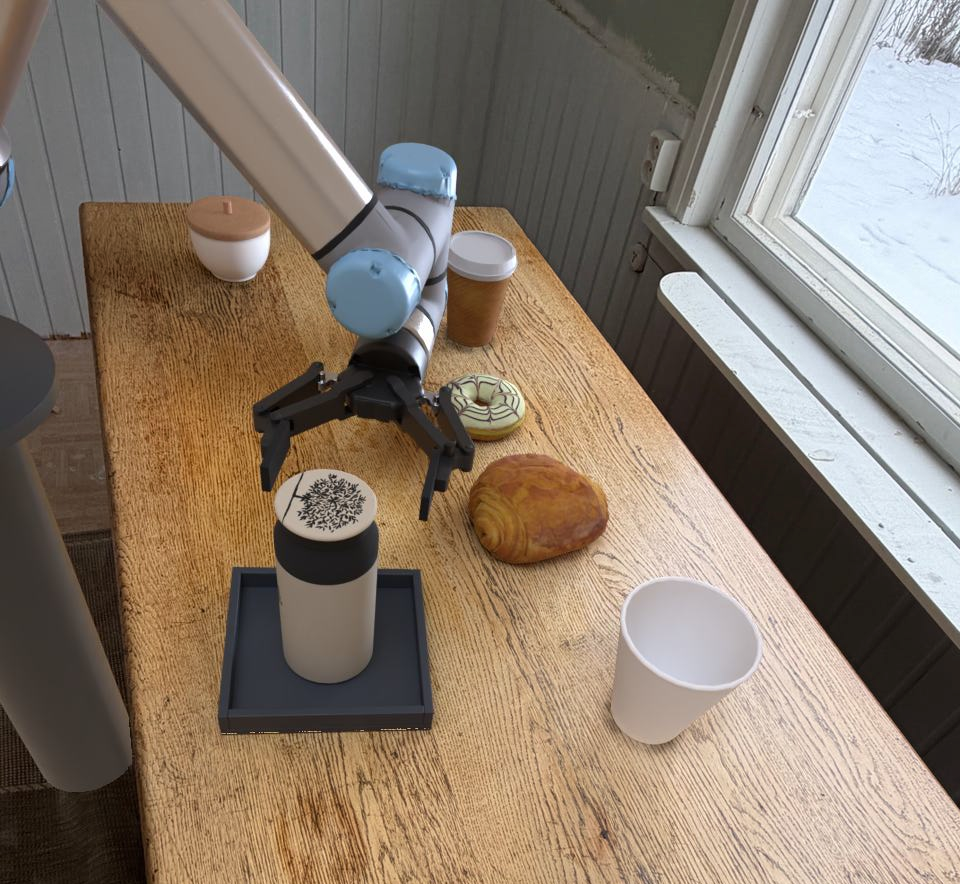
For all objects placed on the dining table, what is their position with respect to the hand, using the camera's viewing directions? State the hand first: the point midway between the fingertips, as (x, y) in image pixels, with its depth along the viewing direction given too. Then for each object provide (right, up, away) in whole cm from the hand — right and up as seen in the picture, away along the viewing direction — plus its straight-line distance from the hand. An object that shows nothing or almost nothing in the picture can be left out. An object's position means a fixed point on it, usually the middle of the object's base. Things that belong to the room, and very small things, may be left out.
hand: (344, 494), depth 68 cm
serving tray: (-2, -14, +6) cm, 15 cm away
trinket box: (-23, +39, +44) cm, 63 cm away
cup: (+27, -19, +7) cm, 34 cm away
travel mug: (-2, -13, +5) cm, 14 cm away
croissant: (+17, +1, +21) cm, 27 cm away
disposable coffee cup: (+10, +30, +42) cm, 53 cm away
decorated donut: (+11, +15, +31) cm, 36 cm away
